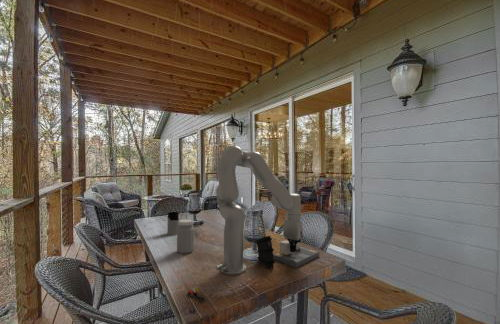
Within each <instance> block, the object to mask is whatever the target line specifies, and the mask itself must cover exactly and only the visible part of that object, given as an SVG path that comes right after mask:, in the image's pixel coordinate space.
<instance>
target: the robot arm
mask: <svg viewBox="0 0 500 324" xmlns="http://www.w3.org/2000/svg"><path fill="white" fill-rule="evenodd" d="M220 156H221V157H220V158H219V160H218V163H217V166H216V171H217V172H216V173H217V179H218V185H217V186H216V191H215V192H216V200H217V205H218V209H219V210H218V211H219V213H220V216H221V217H222V218H223V220H224V227H223V229H224V230H223V260H222V261H221V263H220V264H219V265H218V264H217V265H215V270H216V271H220V272H222V273H223V274H226V275H229V276H235V275H241V274H244V273H246V271H247V265H246V264H245V263H244V231H245V229H244V228H245V221H246V215H245V214H246V213H245V210H244V209H243V207H241V205H239V204H237V200H238V198H239V195H240V191H239V186H238V182H237V177H236V176H237V175H236V167H241V168H247V169H250V170H251V172H252V174H253V175H254V177H255V178H256V180H257V181H258V183H259V184H260V185H261V186H262V187H263V188H264V189H266V190H268V191H269V192H270V193H271V195H272V196H271V197H270V203H271V205H272V206H274V207H275V208H277V209H281V210H283V211H285V213H284V216H285V218H284V222H283V227H282V229H283V230H282V236H283V237H284V239H285V240H286V241H289V244H290V252H295V251H296V244H297V243H300V242H301V243H302V242H303V236H304V230H303V229H304V228H303V223H302V219H301V216H302V214H301V210H302V207H301V206H302V205H301V201H302V200H301V199H302V198H301V195H300V194H299V193H294V192H293V193H290V192H289V191H288V188H287V187H286V186H285V185H284V184H283V183H282V181H281V180H279V178H278V177H277V176H276V175H275V174H274V173H273V171H272V169H271V168H270V166H269V165H268V163H267V162H266V160H265V158H264V157H263V155H262V154H261V153H260V152H258V151H245V150H242V148H241V147H240V146H237V145H231V146H227V147H225V148H224V149H222V150H221V154H220Z"/></svg>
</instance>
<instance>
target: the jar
mask: <svg viewBox="0 0 500 324" xmlns="http://www.w3.org/2000/svg"><path fill="white" fill-rule="evenodd" d="M178 224H179V226H178V227H179V228H178V229H177V235H176V251H177V252H178V253H179V254H182V255H186V254H187V255H188V254H191V253H193V252H194V250H195V227H194V220H193V219H190V218H187V219H186V218H185V219H184V218H183V219H182V218H181V220H180V219H179V221H178Z"/></svg>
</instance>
